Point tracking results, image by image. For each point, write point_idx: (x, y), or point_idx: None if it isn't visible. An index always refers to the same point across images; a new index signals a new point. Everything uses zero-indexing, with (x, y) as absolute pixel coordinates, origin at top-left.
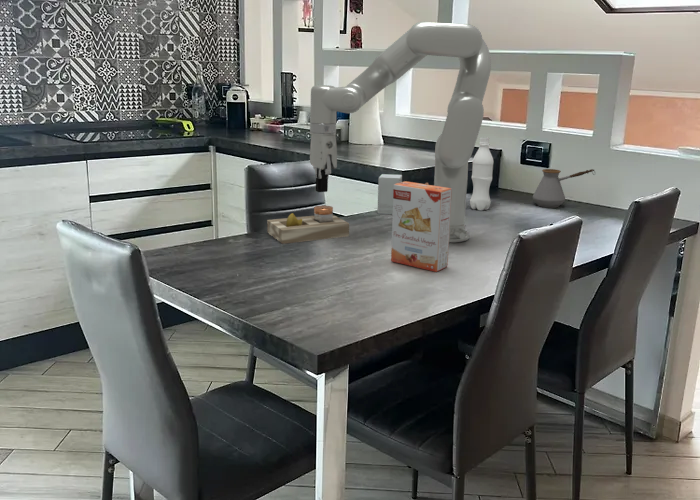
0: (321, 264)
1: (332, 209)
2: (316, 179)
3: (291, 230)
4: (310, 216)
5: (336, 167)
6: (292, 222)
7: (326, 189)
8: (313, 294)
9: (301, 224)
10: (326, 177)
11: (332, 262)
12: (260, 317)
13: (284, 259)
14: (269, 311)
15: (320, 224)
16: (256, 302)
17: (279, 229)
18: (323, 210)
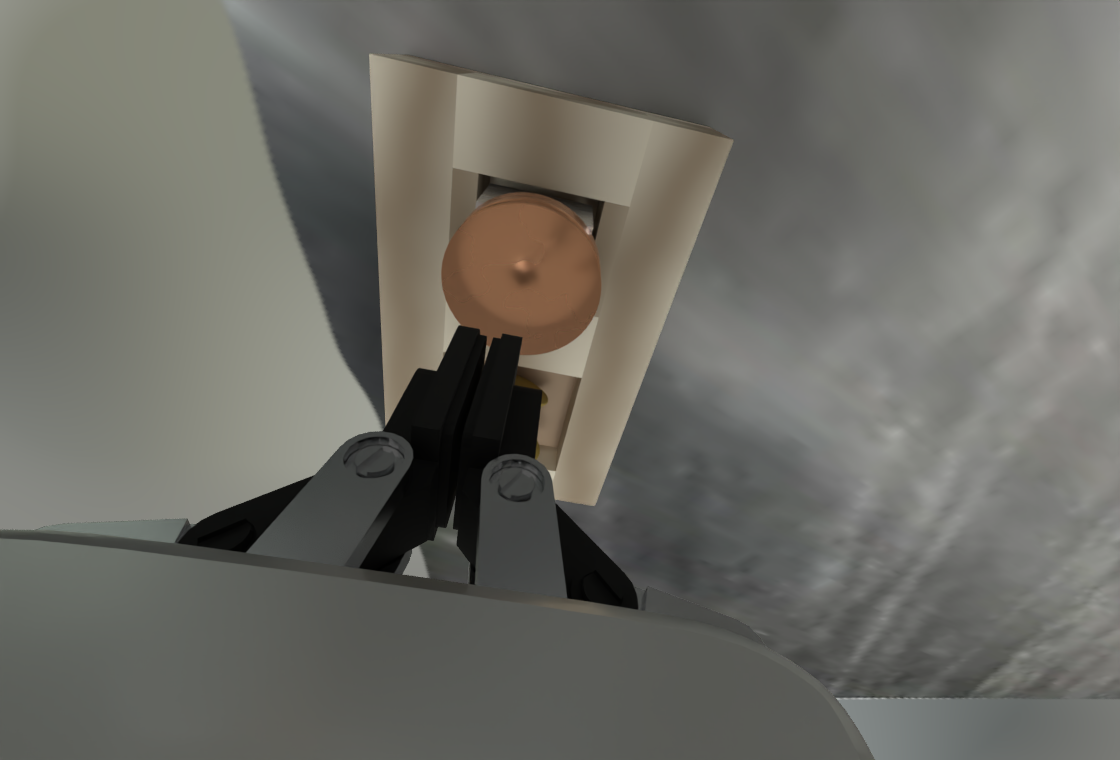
0: (906, 488)
1: (583, 232)
2: (437, 525)
3: (605, 472)
4: (392, 260)
5: (837, 700)
6: (539, 451)
7: (518, 357)
8: (1038, 604)
9: (547, 400)
10: (556, 512)
11: (931, 455)
12: (993, 686)
13: (755, 531)
14: (992, 672)
15: (618, 329)
16: (932, 667)
17: (559, 496)
18: (586, 326)
